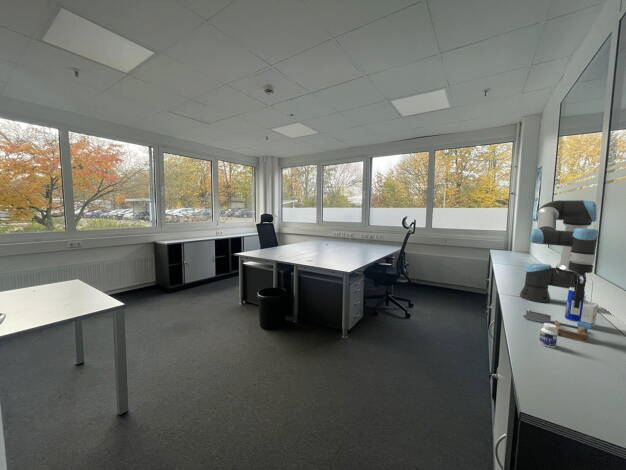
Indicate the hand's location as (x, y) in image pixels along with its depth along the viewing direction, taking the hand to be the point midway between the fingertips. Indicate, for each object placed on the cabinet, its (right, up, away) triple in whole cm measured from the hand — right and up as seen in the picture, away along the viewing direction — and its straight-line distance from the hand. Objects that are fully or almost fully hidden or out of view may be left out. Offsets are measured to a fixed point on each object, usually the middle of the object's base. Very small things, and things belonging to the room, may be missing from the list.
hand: (573, 312), depth 117 cm
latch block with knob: (-3, -9, +15) cm, 18 cm away
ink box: (+19, -11, +12) cm, 25 cm away
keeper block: (-2, -10, +7) cm, 13 cm away
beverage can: (0, -4, 0) cm, 4 cm away
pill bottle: (-20, -12, -8) cm, 24 cm away
